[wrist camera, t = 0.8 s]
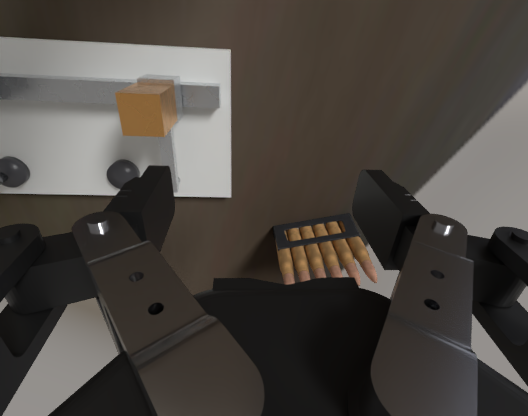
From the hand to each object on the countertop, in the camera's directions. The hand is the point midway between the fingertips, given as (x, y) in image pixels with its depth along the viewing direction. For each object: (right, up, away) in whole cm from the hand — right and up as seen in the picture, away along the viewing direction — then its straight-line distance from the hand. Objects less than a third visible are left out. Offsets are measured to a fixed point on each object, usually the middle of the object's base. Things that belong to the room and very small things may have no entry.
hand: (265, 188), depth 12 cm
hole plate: (-18, +8, +20) cm, 28 cm away
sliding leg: (-10, +7, +18) cm, 21 cm away
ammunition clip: (+7, -3, +29) cm, 30 cm away
